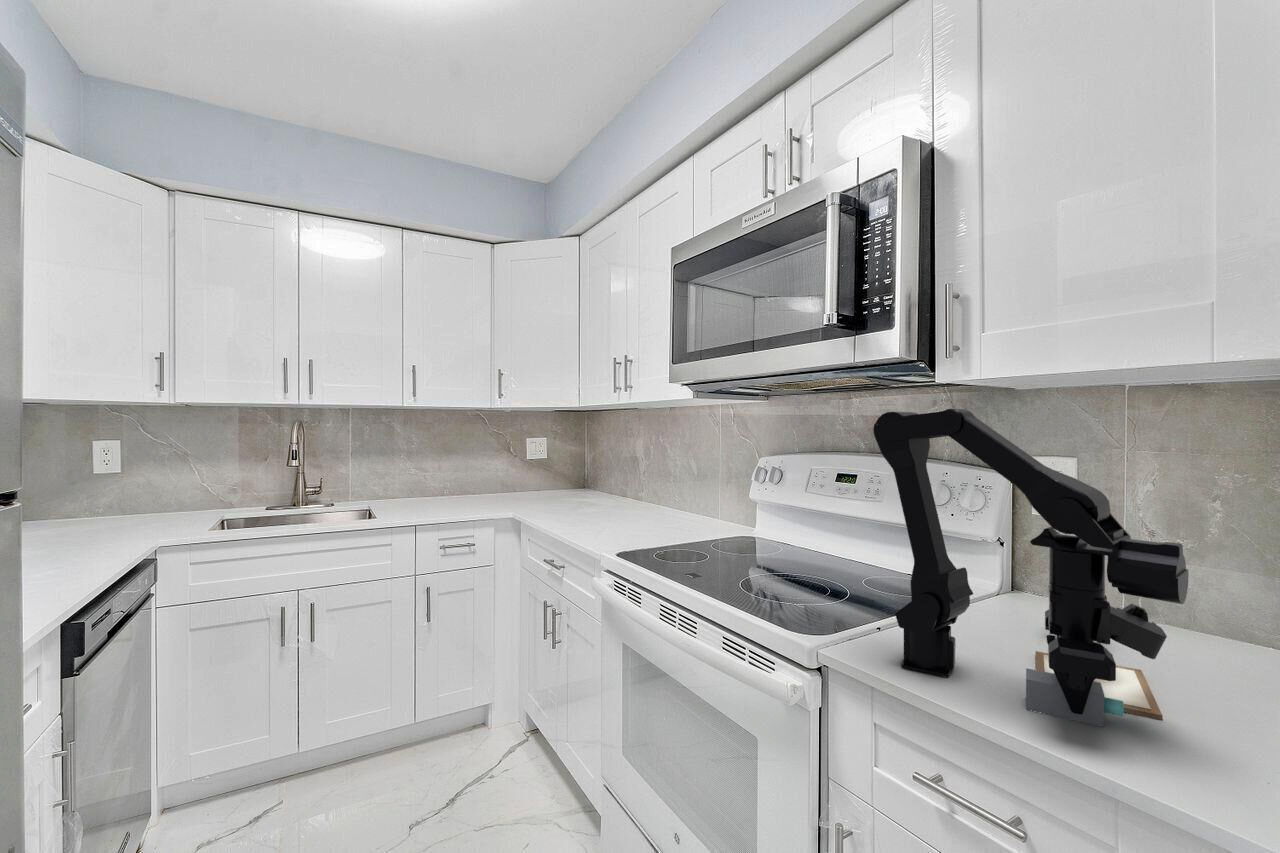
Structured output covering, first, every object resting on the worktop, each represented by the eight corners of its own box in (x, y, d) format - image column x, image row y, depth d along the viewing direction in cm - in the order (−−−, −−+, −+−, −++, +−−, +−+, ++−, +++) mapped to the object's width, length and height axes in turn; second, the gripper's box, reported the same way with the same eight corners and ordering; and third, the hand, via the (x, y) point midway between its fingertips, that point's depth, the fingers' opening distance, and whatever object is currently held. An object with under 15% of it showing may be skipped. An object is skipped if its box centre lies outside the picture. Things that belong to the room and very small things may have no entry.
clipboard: (1037, 694, 81) (1037, 682, 81) (1035, 654, 94) (1035, 644, 94) (1162, 720, 74) (1162, 707, 74) (1141, 673, 87) (1141, 663, 87)
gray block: (1026, 709, 77) (1026, 679, 76) (1026, 697, 80) (1026, 668, 80) (1124, 731, 71) (1125, 698, 71) (1120, 717, 74) (1120, 686, 74)
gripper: (1176, 616, 63) (1175, 761, 63) (1146, 577, 78) (1145, 693, 79) (1049, 599, 69) (1048, 731, 69) (1044, 566, 85) (1044, 674, 85)
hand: (1075, 706), depth 75 cm, fingers closed on gray block, 4 cm apart
